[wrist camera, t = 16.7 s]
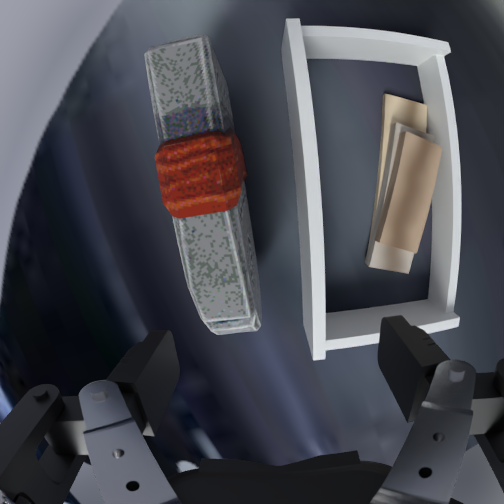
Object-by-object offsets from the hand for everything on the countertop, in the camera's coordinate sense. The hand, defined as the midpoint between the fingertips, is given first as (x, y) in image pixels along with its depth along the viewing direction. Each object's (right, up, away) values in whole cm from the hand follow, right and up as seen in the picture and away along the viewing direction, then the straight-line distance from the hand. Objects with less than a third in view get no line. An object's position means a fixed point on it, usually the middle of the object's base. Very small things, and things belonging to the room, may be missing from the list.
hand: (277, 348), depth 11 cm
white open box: (+16, +13, +29) cm, 36 cm away
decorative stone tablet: (-4, +12, +31) cm, 33 cm away
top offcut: (+20, +12, +27) cm, 35 cm away
